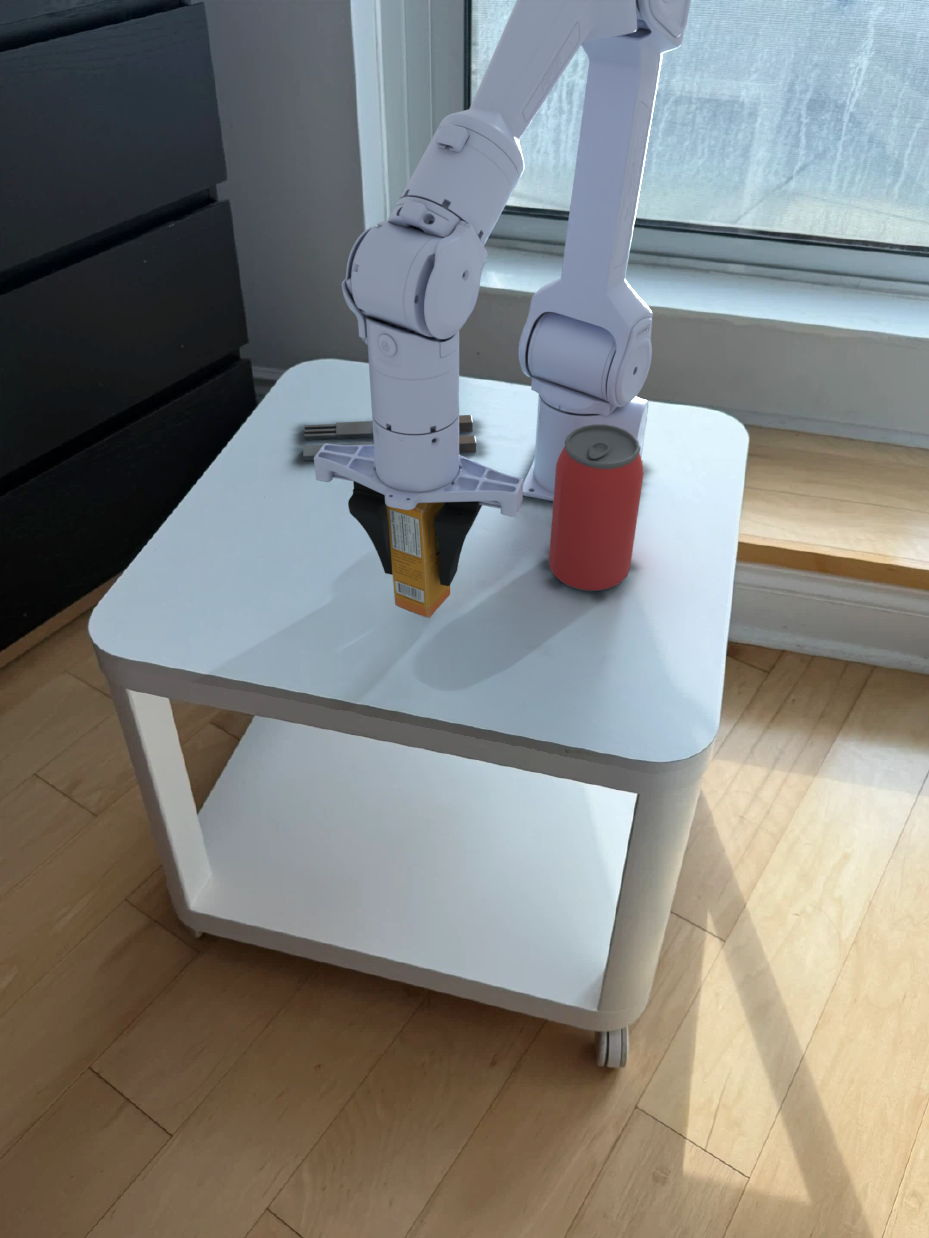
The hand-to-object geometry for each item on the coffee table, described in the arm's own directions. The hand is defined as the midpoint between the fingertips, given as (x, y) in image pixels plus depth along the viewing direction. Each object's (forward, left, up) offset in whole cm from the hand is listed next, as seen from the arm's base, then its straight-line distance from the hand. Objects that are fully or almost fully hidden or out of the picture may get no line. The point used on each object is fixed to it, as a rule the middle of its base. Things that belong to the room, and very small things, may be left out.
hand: (420, 571), depth 79 cm
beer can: (-11, -10, -5) cm, 16 cm away
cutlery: (+11, -23, -5) cm, 26 cm away
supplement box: (0, 0, -3) cm, 3 cm away
